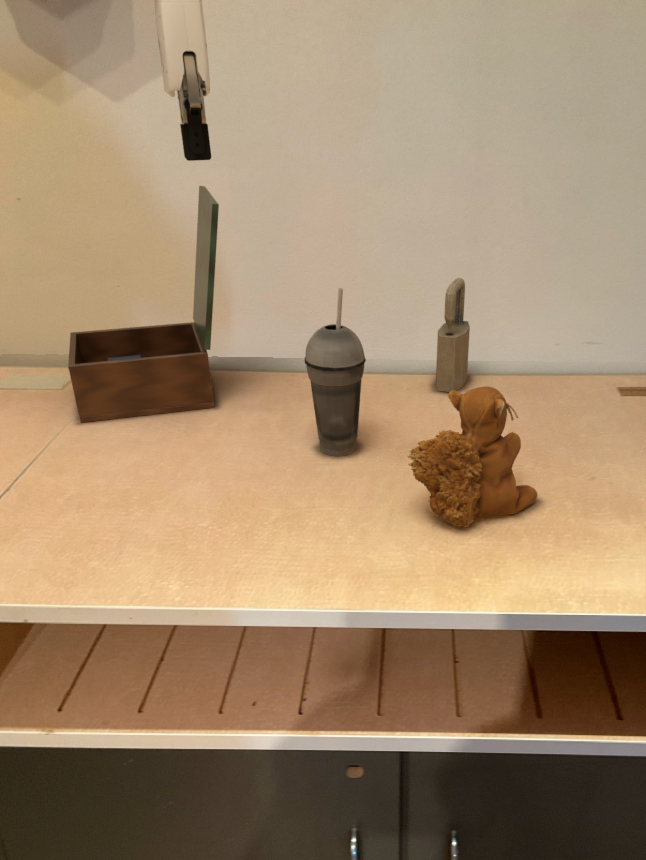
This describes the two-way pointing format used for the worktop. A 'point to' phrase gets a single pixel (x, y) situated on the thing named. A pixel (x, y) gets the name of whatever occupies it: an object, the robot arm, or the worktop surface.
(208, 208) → the lid
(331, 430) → the beverage cup
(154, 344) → the chest
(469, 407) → the stuffed squirrel
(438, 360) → the padlock
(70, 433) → the worktop surface
